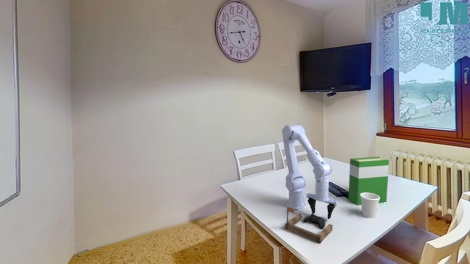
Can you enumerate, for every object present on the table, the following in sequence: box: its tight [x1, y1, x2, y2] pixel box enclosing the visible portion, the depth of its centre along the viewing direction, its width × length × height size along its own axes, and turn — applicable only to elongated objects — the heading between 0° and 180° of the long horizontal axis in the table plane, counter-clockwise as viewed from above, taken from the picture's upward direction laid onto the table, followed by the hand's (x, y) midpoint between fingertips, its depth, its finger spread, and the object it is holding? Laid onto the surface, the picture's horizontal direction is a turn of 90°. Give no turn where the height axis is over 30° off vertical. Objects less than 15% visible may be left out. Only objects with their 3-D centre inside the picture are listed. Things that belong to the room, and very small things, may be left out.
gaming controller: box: [302, 213, 327, 230], centre depth 106 cm, size 10×5×6 cm
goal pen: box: [284, 206, 334, 244], centre depth 100 cm, size 12×16×10 cm
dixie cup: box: [360, 193, 380, 219], centre depth 112 cm, size 8×8×10 cm
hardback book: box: [348, 156, 390, 207], centre depth 126 cm, size 18×7×24 cm, turn 99°
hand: (321, 215), depth 110 cm, fingers open, 7 cm apart
